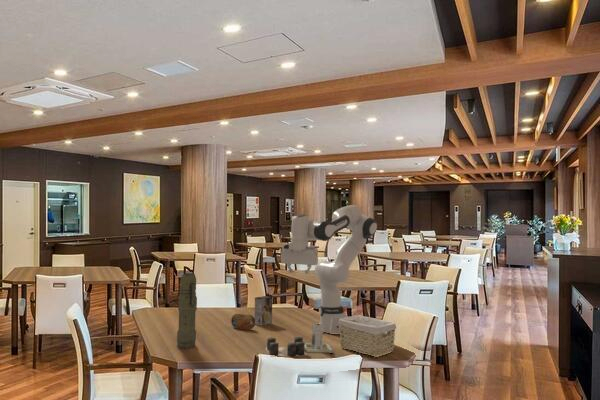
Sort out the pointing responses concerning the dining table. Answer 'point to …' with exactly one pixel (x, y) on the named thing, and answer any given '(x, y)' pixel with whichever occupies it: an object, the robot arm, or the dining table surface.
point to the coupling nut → (317, 336)
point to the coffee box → (263, 310)
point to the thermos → (187, 311)
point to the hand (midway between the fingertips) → (298, 273)
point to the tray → (319, 350)
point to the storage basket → (367, 334)
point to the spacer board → (286, 348)
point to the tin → (243, 321)
